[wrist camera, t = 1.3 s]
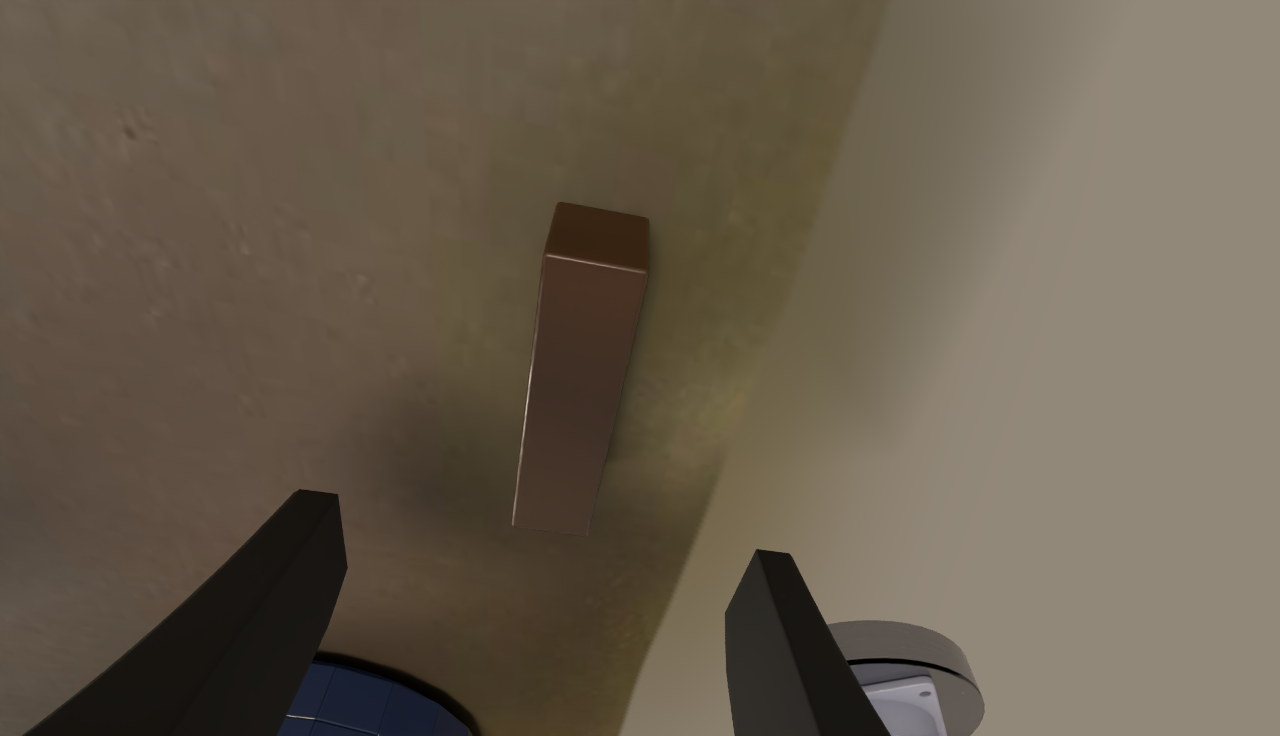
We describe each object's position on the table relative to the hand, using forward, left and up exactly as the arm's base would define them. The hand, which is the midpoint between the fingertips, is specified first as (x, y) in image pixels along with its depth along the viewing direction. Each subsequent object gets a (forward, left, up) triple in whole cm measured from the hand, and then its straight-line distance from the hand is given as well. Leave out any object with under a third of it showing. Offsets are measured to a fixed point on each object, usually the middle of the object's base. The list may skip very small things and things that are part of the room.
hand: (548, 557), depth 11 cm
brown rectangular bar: (0, 0, -6) cm, 6 cm away
